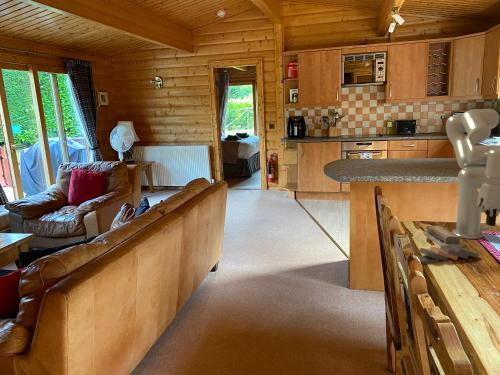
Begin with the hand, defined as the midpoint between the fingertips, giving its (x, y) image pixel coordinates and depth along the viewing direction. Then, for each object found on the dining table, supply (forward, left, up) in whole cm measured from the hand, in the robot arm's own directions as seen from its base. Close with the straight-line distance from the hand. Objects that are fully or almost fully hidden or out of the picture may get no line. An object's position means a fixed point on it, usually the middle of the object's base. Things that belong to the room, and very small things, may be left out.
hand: (490, 224), depth 153 cm
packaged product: (+7, -18, -13) cm, 23 cm away
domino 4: (+12, +1, -11) cm, 16 cm away
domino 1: (+24, +1, -12) cm, 27 cm away
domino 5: (+7, +1, -11) cm, 14 cm away
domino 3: (+16, +1, -11) cm, 20 cm away
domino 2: (+21, +1, -11) cm, 23 cm away
